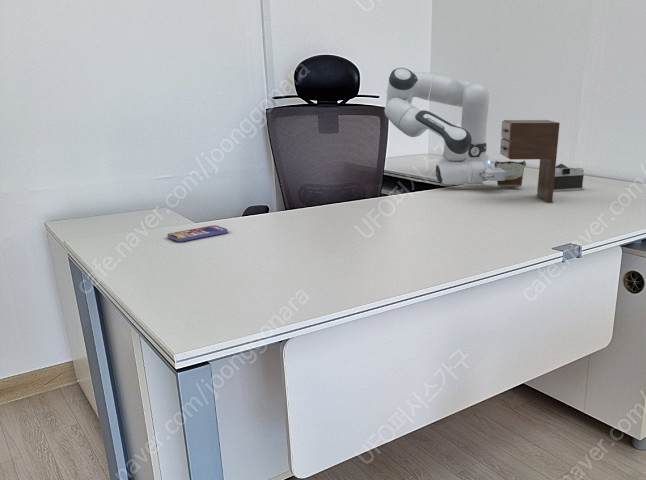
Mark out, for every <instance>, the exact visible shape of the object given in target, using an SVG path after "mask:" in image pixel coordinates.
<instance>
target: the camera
mask: <svg viewBox="0 0 646 480" xmlns="http://www.w3.org/2000/svg"><path fill="white" fill-rule="evenodd" d="M584 174H585V169H584V168H583V167H581V166H579V167H578V166H577V167H568V166H566V165H565V164H563V163H559V164H556V168H555V178H554V189H553V192H561V191H562V192H564V191H577V190H579V191H580V190H583V188H584V186H583V184H584V176H585V175H584Z"/></svg>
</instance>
